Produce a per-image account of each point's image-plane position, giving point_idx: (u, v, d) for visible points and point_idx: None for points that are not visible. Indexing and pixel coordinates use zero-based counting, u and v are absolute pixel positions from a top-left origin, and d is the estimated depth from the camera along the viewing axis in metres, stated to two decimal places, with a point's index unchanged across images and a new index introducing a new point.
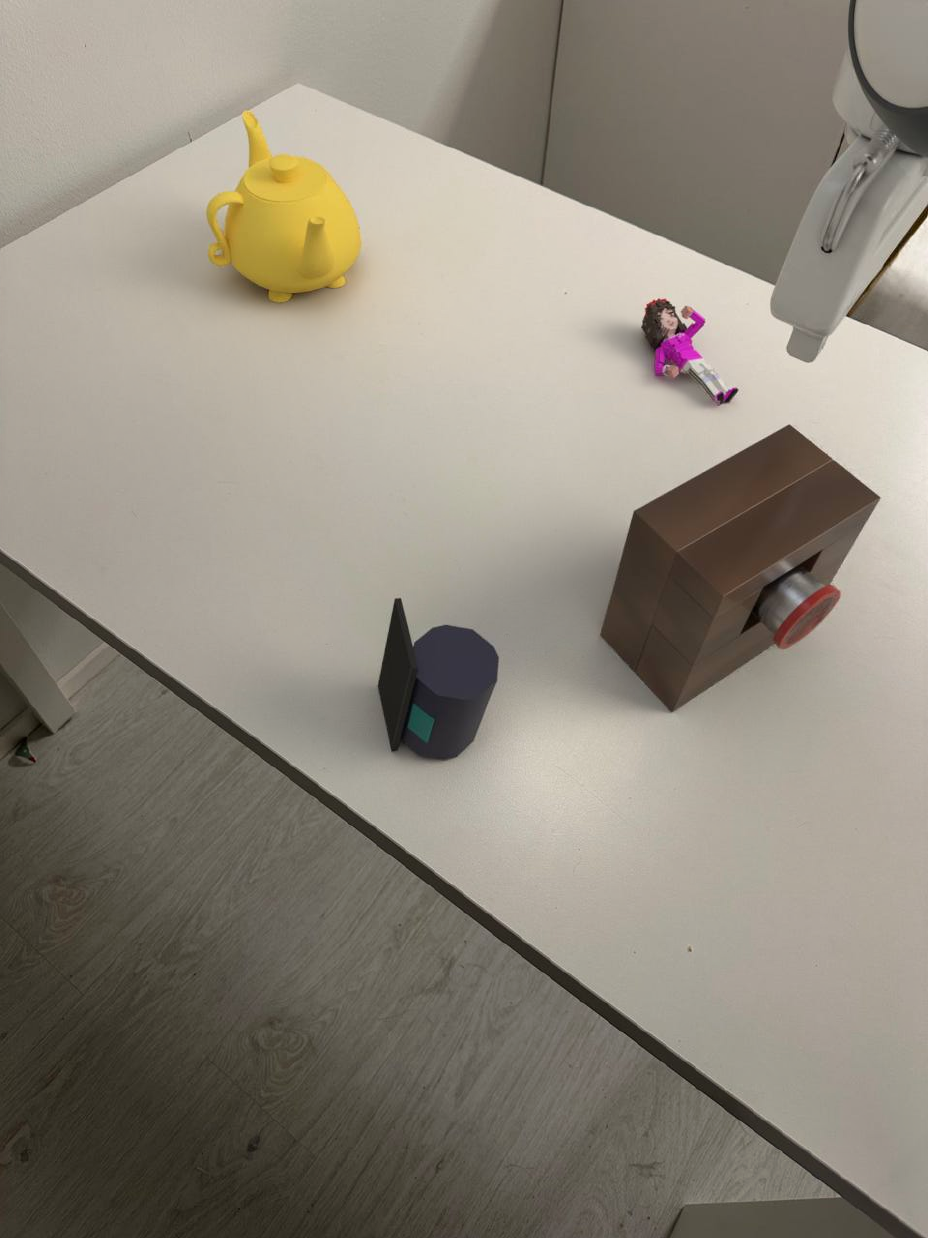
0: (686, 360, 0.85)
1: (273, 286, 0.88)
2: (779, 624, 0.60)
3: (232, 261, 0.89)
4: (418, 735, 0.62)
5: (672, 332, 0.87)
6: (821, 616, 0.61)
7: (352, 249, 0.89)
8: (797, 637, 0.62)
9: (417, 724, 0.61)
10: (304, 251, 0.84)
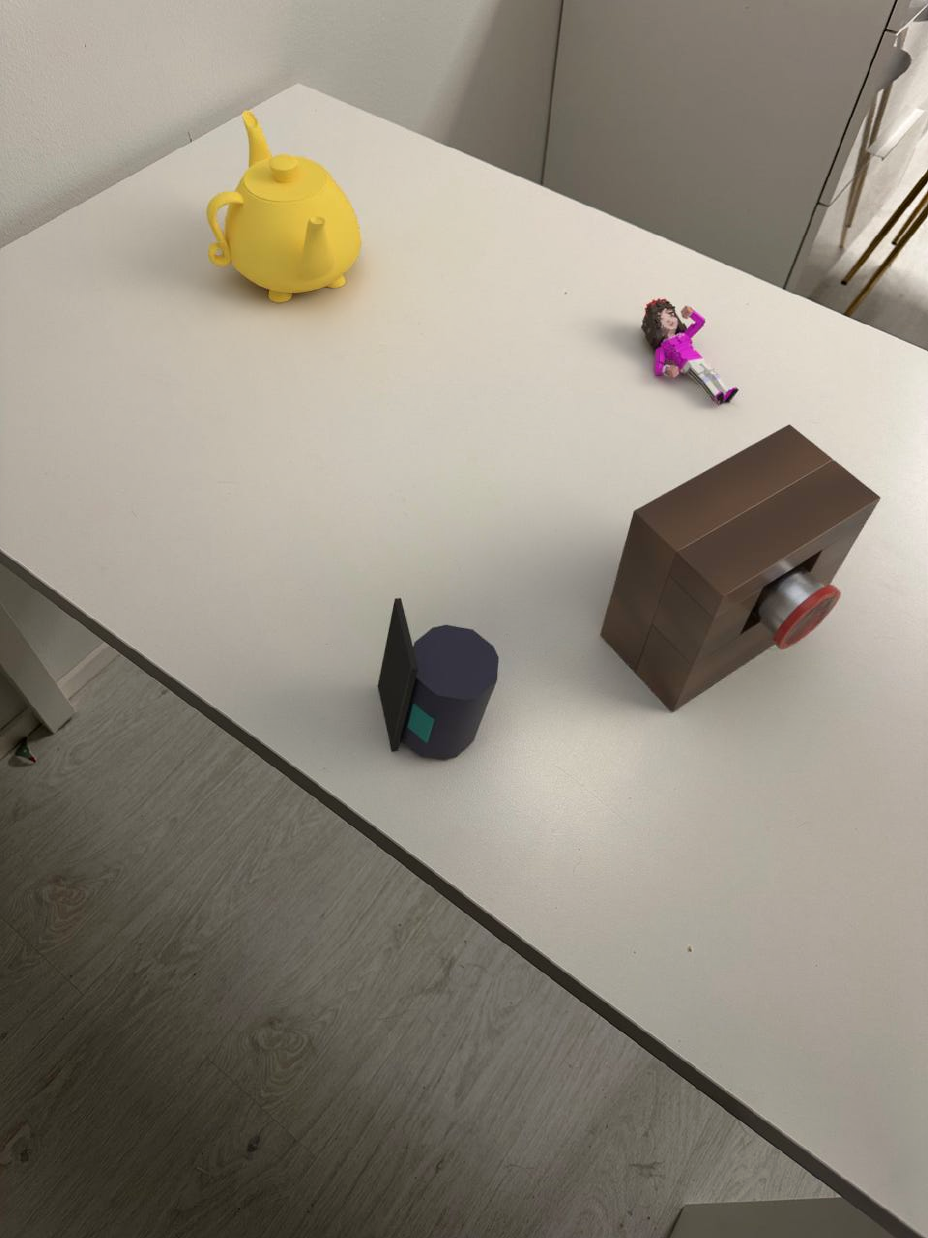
0: (686, 360, 0.85)
1: (273, 286, 0.88)
2: (779, 624, 0.60)
3: (232, 261, 0.89)
4: (418, 735, 0.62)
5: (672, 332, 0.87)
6: (821, 616, 0.61)
7: (352, 249, 0.89)
8: (797, 637, 0.62)
9: (417, 724, 0.61)
10: (304, 251, 0.84)
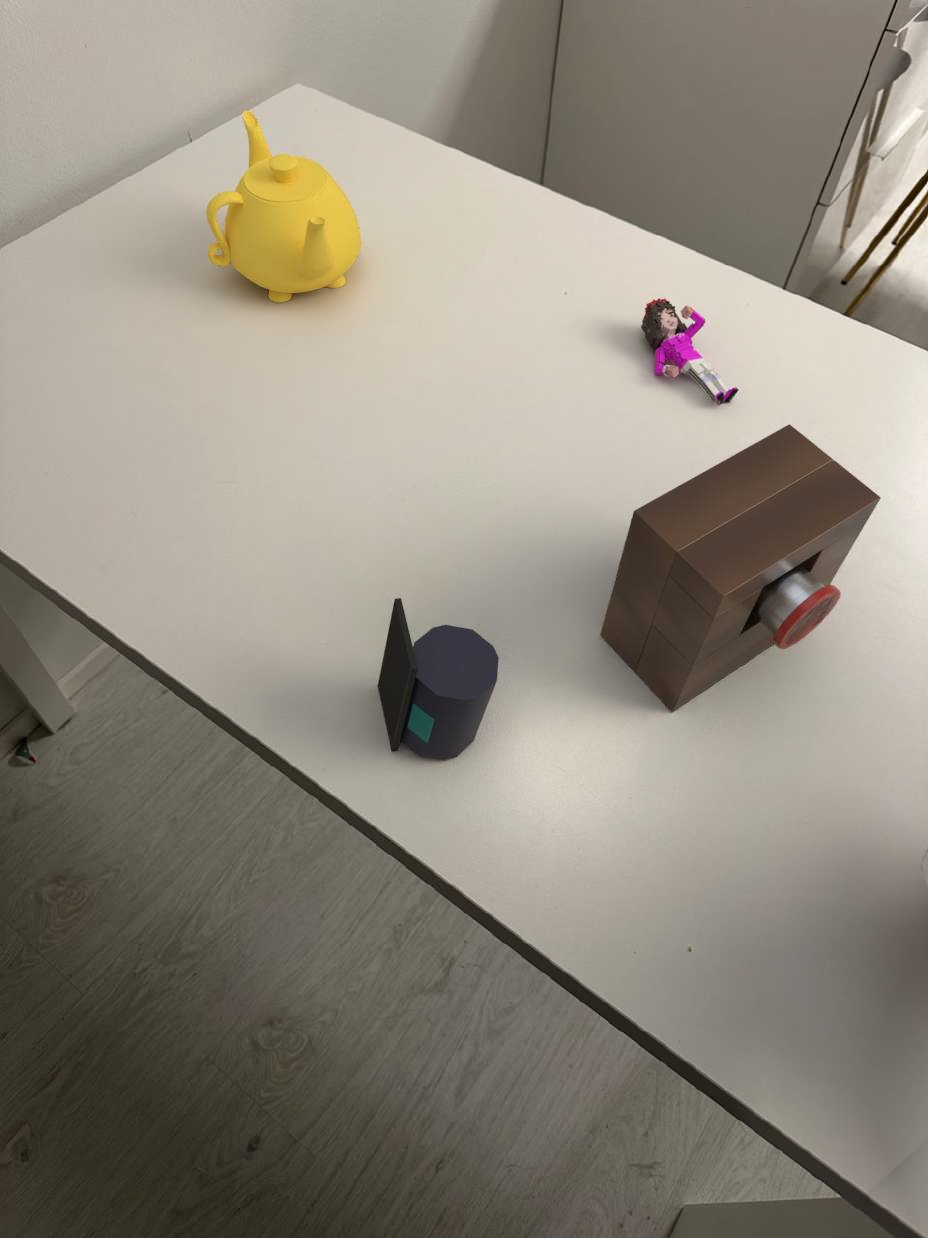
0: (686, 360, 0.85)
1: (273, 286, 0.88)
2: (779, 624, 0.60)
3: (232, 261, 0.89)
4: (418, 735, 0.62)
5: (672, 332, 0.87)
6: (821, 616, 0.61)
7: (352, 249, 0.89)
8: (797, 637, 0.62)
9: (417, 724, 0.61)
10: (304, 251, 0.84)
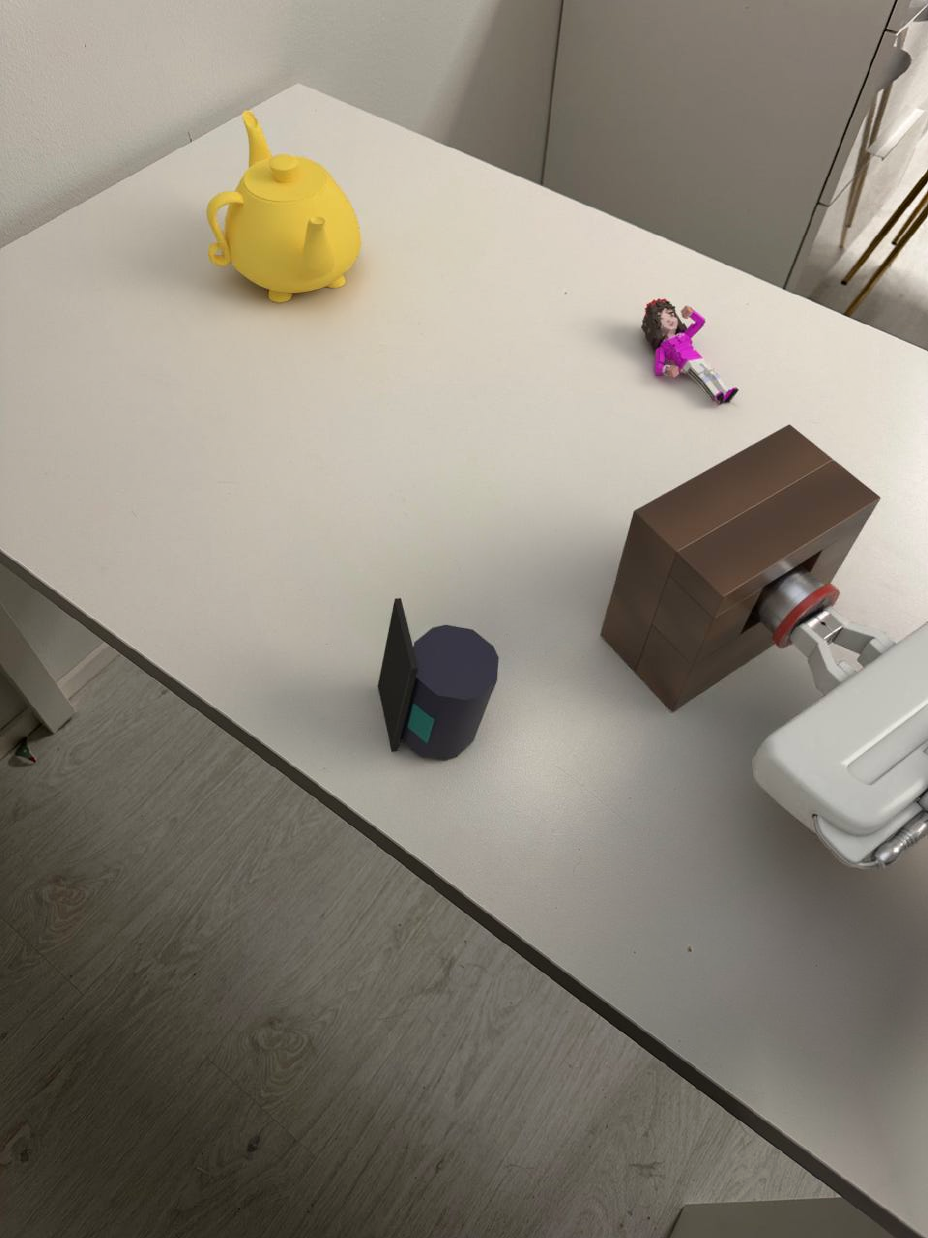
0: (686, 360, 0.85)
1: (273, 286, 0.88)
2: (778, 623, 0.60)
3: (232, 261, 0.89)
4: (418, 735, 0.62)
5: (672, 332, 0.87)
6: None
7: (352, 249, 0.89)
8: None
9: (417, 724, 0.61)
10: (304, 251, 0.84)
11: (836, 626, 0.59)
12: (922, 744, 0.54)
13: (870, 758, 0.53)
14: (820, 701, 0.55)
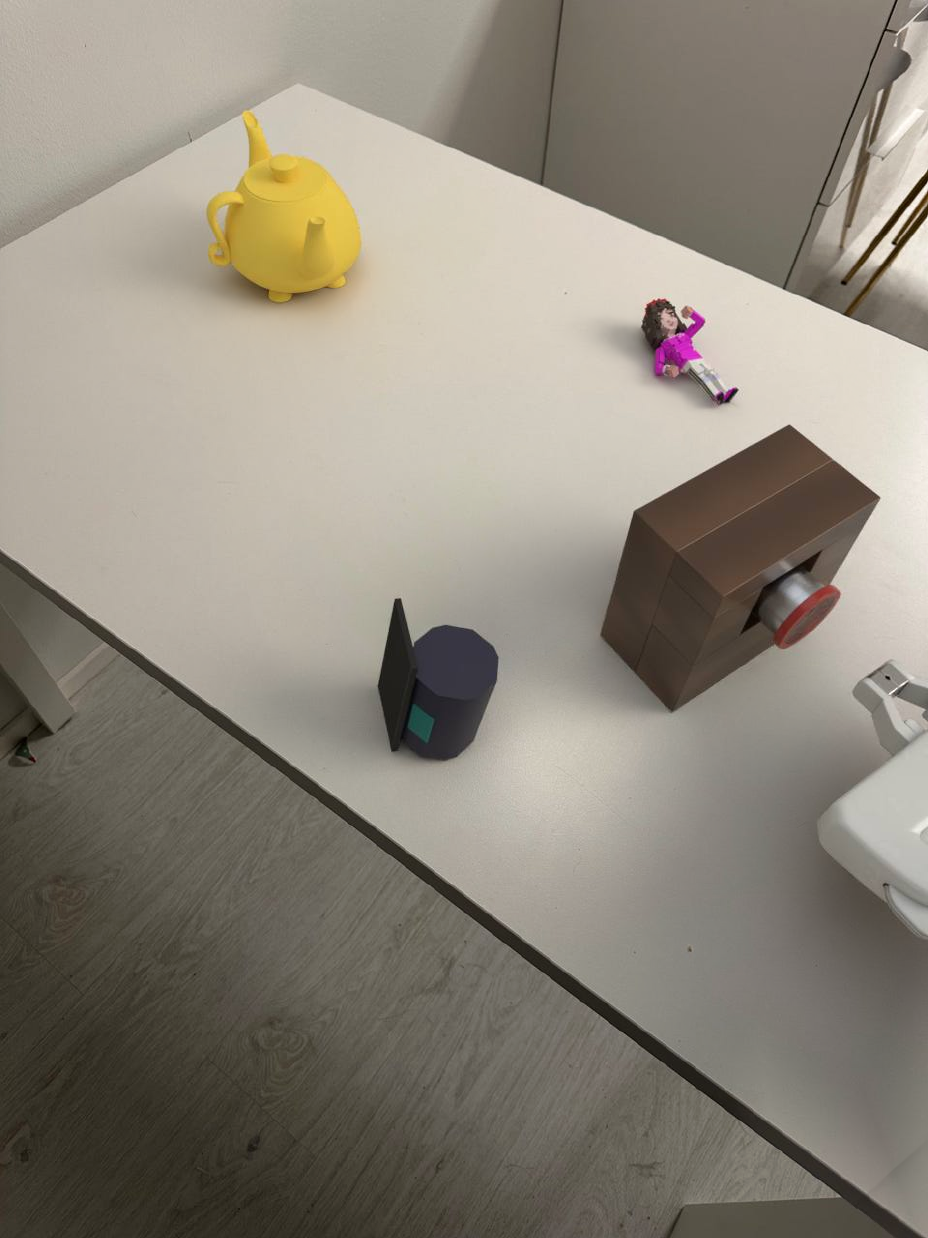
0: (686, 360, 0.85)
1: (273, 286, 0.88)
2: (779, 624, 0.60)
3: (232, 261, 0.89)
4: (418, 735, 0.62)
5: (672, 332, 0.87)
6: (821, 616, 0.61)
7: (352, 249, 0.89)
8: (797, 637, 0.62)
9: (417, 724, 0.61)
10: (304, 251, 0.84)
11: (901, 681, 0.57)
12: None
13: None
14: (889, 763, 0.53)
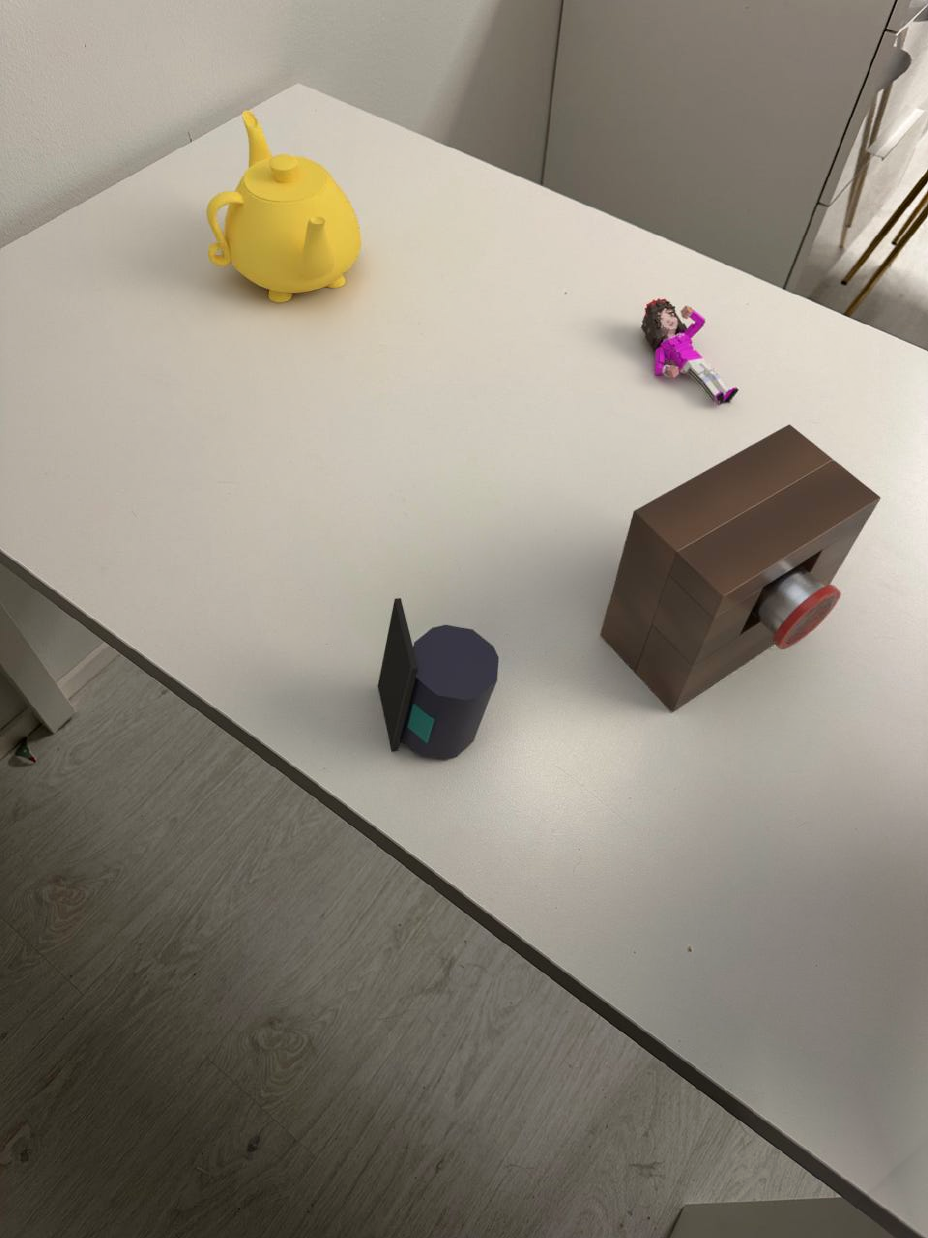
0: (686, 360, 0.85)
1: (273, 286, 0.88)
2: (779, 624, 0.60)
3: (232, 261, 0.89)
4: (418, 735, 0.62)
5: (672, 332, 0.87)
6: (821, 616, 0.61)
7: (352, 249, 0.89)
8: (797, 637, 0.62)
9: (417, 724, 0.61)
10: (304, 251, 0.84)
11: None
12: None
13: None
14: None
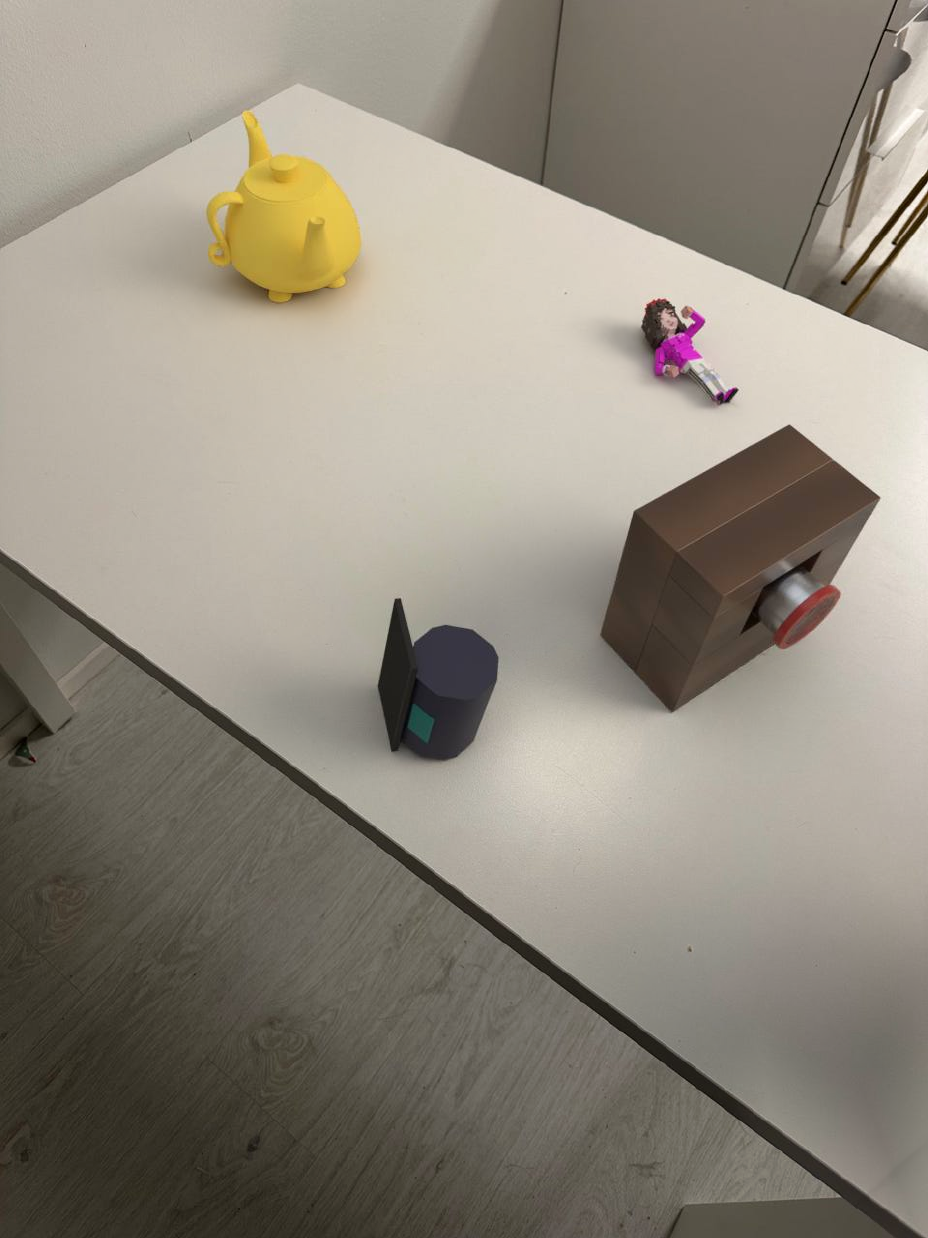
0: (686, 360, 0.85)
1: (273, 286, 0.88)
2: (779, 624, 0.60)
3: (232, 261, 0.89)
4: (418, 735, 0.62)
5: (672, 332, 0.87)
6: (821, 616, 0.61)
7: (352, 249, 0.89)
8: (797, 637, 0.62)
9: (417, 724, 0.61)
10: (304, 251, 0.84)
11: None
12: None
13: None
14: None
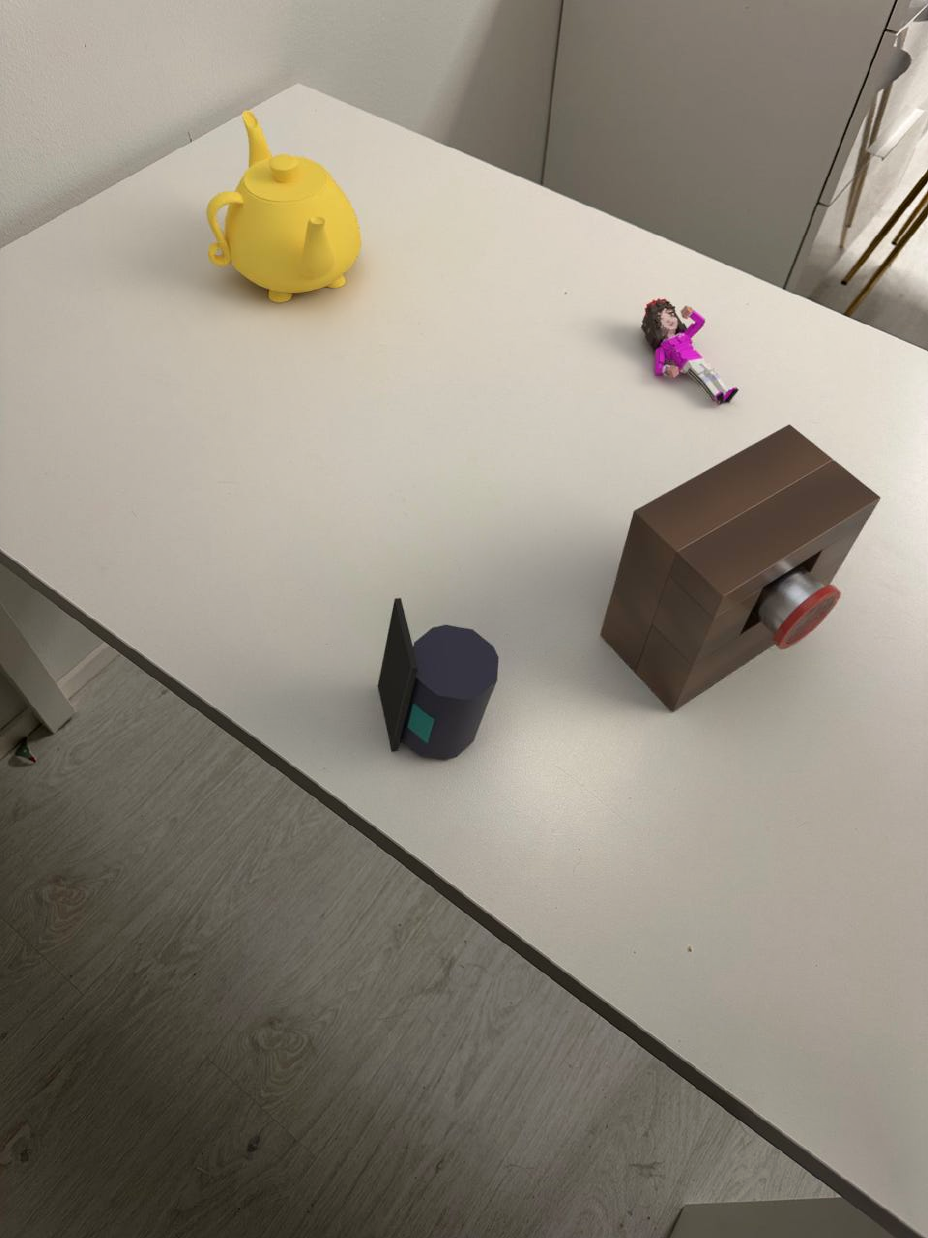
0: (686, 360, 0.85)
1: (273, 286, 0.88)
2: (779, 624, 0.60)
3: (232, 261, 0.89)
4: (418, 735, 0.62)
5: (672, 332, 0.87)
6: (821, 616, 0.61)
7: (352, 249, 0.89)
8: (797, 637, 0.62)
9: (417, 724, 0.61)
10: (304, 251, 0.84)
11: None
12: None
13: None
14: None
